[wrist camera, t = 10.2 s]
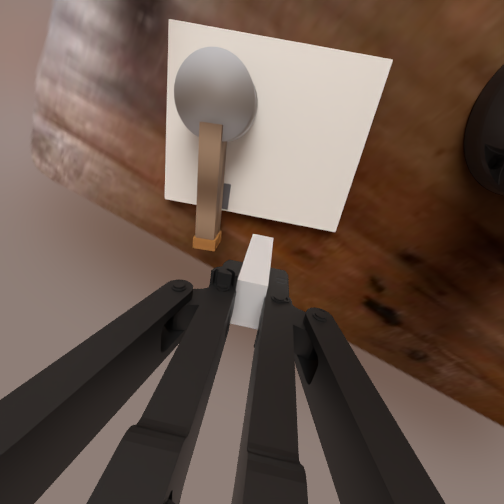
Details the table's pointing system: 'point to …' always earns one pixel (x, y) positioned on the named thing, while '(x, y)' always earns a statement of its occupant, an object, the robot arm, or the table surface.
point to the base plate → (281, 126)
